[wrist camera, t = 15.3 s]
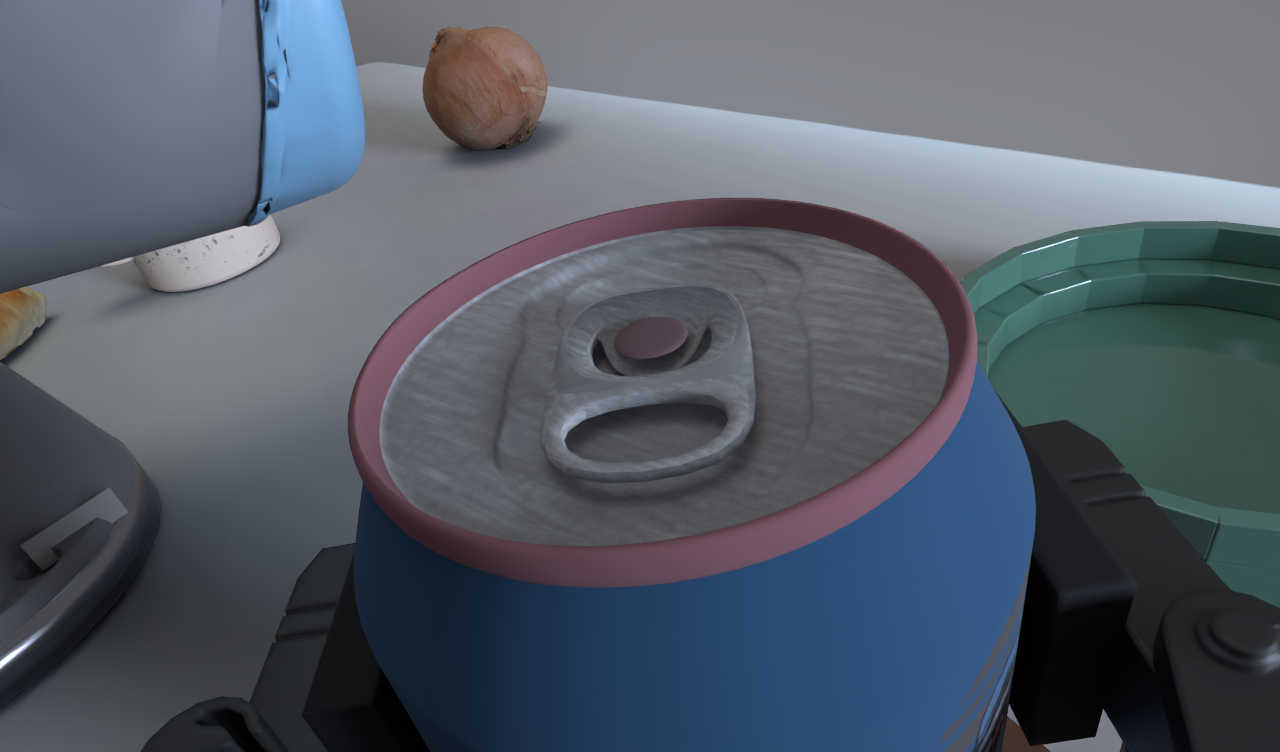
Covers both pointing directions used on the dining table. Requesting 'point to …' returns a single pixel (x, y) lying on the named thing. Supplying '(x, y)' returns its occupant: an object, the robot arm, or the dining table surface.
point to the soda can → (693, 493)
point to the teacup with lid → (207, 258)
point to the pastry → (19, 317)
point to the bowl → (1155, 369)
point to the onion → (484, 87)
